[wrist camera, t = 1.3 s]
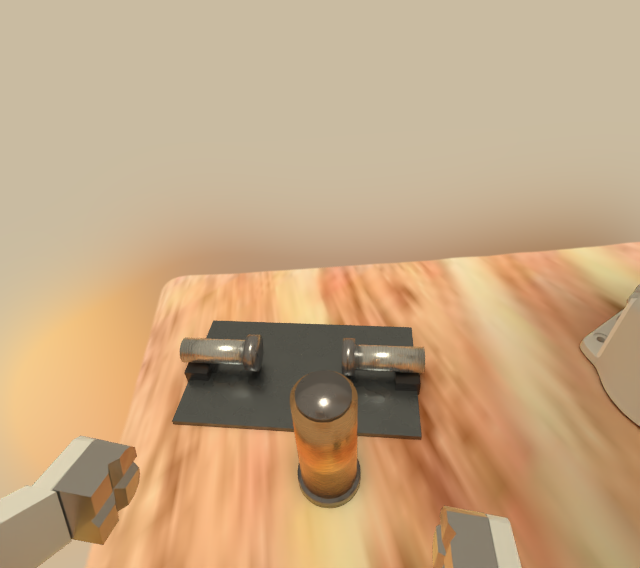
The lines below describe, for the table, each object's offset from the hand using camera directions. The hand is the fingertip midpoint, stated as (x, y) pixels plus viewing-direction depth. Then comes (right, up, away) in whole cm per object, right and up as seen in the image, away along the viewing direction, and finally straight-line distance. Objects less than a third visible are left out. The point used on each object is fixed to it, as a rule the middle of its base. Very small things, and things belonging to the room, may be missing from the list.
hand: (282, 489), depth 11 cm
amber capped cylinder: (+2, -11, +26) cm, 29 cm away
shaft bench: (-1, -4, +35) cm, 35 cm away
